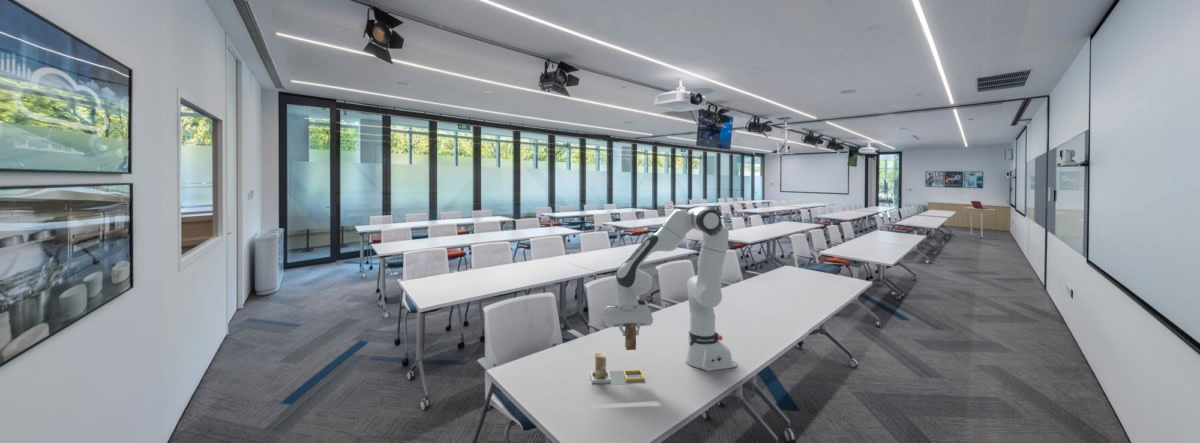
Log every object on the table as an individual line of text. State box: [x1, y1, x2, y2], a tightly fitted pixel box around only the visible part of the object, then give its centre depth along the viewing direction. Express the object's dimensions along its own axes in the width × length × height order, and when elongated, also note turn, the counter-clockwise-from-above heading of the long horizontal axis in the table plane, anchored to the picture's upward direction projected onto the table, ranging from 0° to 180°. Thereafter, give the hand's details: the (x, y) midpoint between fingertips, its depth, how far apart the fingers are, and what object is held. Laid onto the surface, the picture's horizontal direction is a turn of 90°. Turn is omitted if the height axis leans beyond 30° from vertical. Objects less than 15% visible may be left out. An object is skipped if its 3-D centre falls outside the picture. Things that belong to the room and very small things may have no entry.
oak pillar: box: [594, 352, 607, 379], centre depth 179 cm, size 4×4×10 cm
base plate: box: [589, 369, 647, 387], centre depth 180 cm, size 22×12×2 cm, turn 96°
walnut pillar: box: [624, 324, 637, 351], centre depth 183 cm, size 4×4×10 cm
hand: (630, 335), depth 182 cm, fingers closed on walnut pillar, 4 cm apart
